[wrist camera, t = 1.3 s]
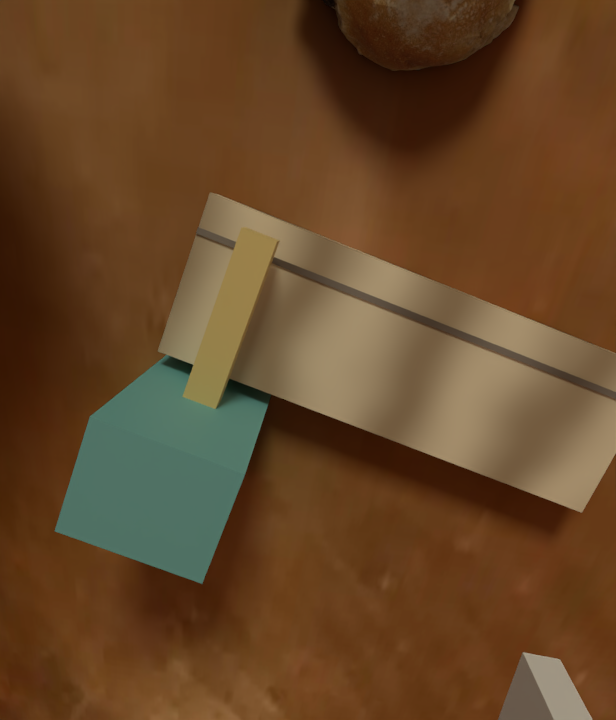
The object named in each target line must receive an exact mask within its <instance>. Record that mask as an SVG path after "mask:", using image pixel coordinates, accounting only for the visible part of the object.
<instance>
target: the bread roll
mask: <svg viewBox="0 0 616 720" xmlns="http://www.w3.org/2000/svg"><path fill="white" fill-rule="evenodd" d="M322 1H323V2H324V3H325V4H326V5H327V6H329V7H331V8H333V9H335V11H336V14H337V18H338V26H339V28H340V29H341V32H343V34H344V35H345V37H346V39H348V40H349V41H350V42H351V43H352V44H353V45H354V46H355V47H356V48H357V51H358V53H359V55H364V56H365V57H366V58H368V59H369V60H371V61H373V62H375V63H376V64H378V65H380V66H382V67H385V68H388V69H390V70H392V71H398V70H405V71H407V70H418V71H419V70H420V69H422V68H427V67H432V66H443V65H449V64H453V63H456V62H459V61H462V60H465V59H466V58H468V57H469V56H470V55H472V54H473V53H475V52H476V51H478V50H479V49H481V48H482V47H484V46H486V45H488V44H490V43H492V40H493V39H495V38H496V37H498V36H499V35H500V34H501V32H502V31H504V30H505V29H506V28H508V27H509V26H510V24H511V23H512V22H513V20H514V18H515V16H516V13H517V11H518V9H519V6H517V5H515V4H514V1H515V0H322Z"/></svg>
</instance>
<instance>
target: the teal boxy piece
mask: <svg viewBox="0 0 616 720" xmlns="http://www.w3.org/2000/svg"><path fill="white" fill-rule="evenodd" d="M279 242H280V240H277V239H275V238H272V237H270V236H267V235H264V234H262V233H259V232H257V231H254V230H252V229H249V228H247V227H241V230H240V233H239V236H238V238H237V241H236V244H235V247H234V250H233V253H232V256H231V259H230V261H229V264H228V267H227V270H226V273H225V276H224V279H223V282H222V284H221V287H220V290H219V293H218V296H217V299H216V302H215V305H214V307H213V310H212V313H211V316H210V319H209V322H208V325H207V327H206V330H205V333H204V336H203V339H202V342H201V345H200V348H199V350H198V353H197V356H196V359H195V362H194V365H193V364H190V363H187V362H185V361H182V360H179V359H177V358H174V357H172V356H169V355H166V356H165V357H163V358H162V359H161V360H160V361H158V362H157V363H156V364H155V365H153V366H152V367H151V368H150V369H148V370H147V371H146V372H145V373H144V374H142V375H141V376H140V377H139V378H137V379H136V380H135V381H134V382H132V383H131V384H130V385H129V386H127V387H126V388H125V389H124V390H122V391H121V392H120V393H119V394H117V395H116V396H115V397H114V398H112V399H111V400H110V401H109V402H107V403H106V404H105V405H104V406H102V407H101V408H100V409H99V410H98V411H96V412H95V413H94V414H93V415H91V416H90V418H89V421H88V424H87V428H86V431H85V434H84V437H83V441H82V444H81V447H80V450H79V454H78V457H77V460H76V463H75V467H74V470H73V473H72V476H71V480H70V483H69V486H68V489H67V493H66V496H65V499H64V502H63V506H62V509H61V512H60V516H59V519H58V522H57V525H56V529H55V532H58V533H61V534H64V535H67V536H69V537H72V538H75V539H78V540H81V541H83V542H86V543H89V544H92V545H95V546H97V547H100V548H103V549H106V550H109V551H111V552H114V553H117V554H120V555H123V556H125V557H128V558H131V559H134V560H137V561H139V562H142V563H145V564H148V565H151V566H153V567H156V568H159V569H162V570H165V571H167V572H170V573H173V574H176V575H179V576H181V577H184V578H187V579H190V580H193V581H195V582H198V583H201V584H202V583H203V580H204V578H205V575H206V573H207V570H208V568H209V565H210V562H211V560H212V557H213V555H214V552H215V550H216V547H217V545H218V542H219V540H220V537H221V534H222V532H223V529H224V527H225V524H226V522H227V519H228V517H229V514H230V512H231V509H232V506H233V504H234V501H235V499H236V496H237V494H238V491H239V489H240V486H241V484H242V481H243V478H244V476H245V473H246V470H247V467H248V464H249V461H250V458H251V455H252V452H253V449H254V446H255V443H256V440H257V437H258V434H259V431H260V428H261V425H262V422H263V419H264V416H265V413H266V409H267V406H268V403H269V400H270V397H271V394H269V393H266V392H264V391H261V390H258V389H256V388H253V387H250V386H248V385H245V384H243V383H240V382H237V381H235V380H232V379H229V378H230V375H231V372H232V369H233V367H234V364H235V361H236V359H237V356H238V353H239V350H240V348H241V345H242V342H243V340H244V337H245V334H246V331H247V329H248V326H249V323H250V321H251V318H252V315H253V312H254V310H255V307H256V304H257V301H258V299H259V296H260V293H261V291H262V288H263V285H264V282H265V280H266V277H267V274H268V272H269V269H270V266H271V263H272V261H273V258H274V255H275V252H276V250H277V247H278V244H279Z"/></svg>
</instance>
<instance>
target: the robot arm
mask: <svg viewBox="0 0 616 720" xmlns="http://www.w3.org/2000/svg"><path fill="white" fill-rule="evenodd" d="M498 720H592V718H591V716H590V714H589V712H588V711H587V709H586V707H585V705H584V703H583V701H582V699H581V698H580V696H579V694H578V692H577V690H576V688H575V687H574V685H573V683H572V681H571V679H570V677H569V675H568V674H567V672H566V670H565V668H564V666H563V664H562V662H561V661H560V659H555V658H550V657H545V656H539V655H534V654H529V653H522V656H521V659H520V661H519V664H518V667H517V669H516V672H515V675H514V678H513V680H512V683H511V686H510V689H509V691H508V694H507V697H506V699H505V702H504V705H503V708H502V710H501V713H500V716H499V719H498Z"/></svg>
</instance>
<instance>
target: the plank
mask: <svg viewBox="0 0 616 720" xmlns="http://www.w3.org/2000/svg"><path fill="white" fill-rule="evenodd" d="M241 227H247V228H249V229H252V230H254V231H257V232H259V233H262V234H264V235H267V236H270V237H272V238H275V239H277V240H280V242H279V244H278V247H277V250H276V252H275V255H274V258H273V261H272V263H271V266H270V269H269V272H268V274H267V277H266V280H265V282H264V285H263V288H262V291H261V293H260V296H259V299H258V301H257V304H256V307H255V310H254V312H253V315H252V318H251V321H250V323H249V326H248V329H247V331H246V334H245V337H244V340H243V342H242V345H241V348H240V350H239V353H238V356H237V359H236V361H235V364H234V367H233V369H232V372H231V375H230V378H229V379H232V380H235V381H237V382H240V383H243V384H245V385H248V386H250V387H253V388H256V389H258V390H261V391H264V392H266V393H269V394H271V395H274V396H277V397H279V398H282V399H285V400H287V401H290V402H292V403H295V404H298V405H300V406H303V407H306V408H308V409H311V410H313V411H316V412H319V413H321V414H324V415H327V416H329V417H332V418H334V419H337V420H340V421H342V422H345V423H348V424H350V425H353V426H355V427H358V428H361V429H363V430H366V431H369V432H371V433H374V434H376V435H379V436H382V437H384V438H387V439H390V440H392V441H395V442H397V443H400V444H403V445H405V446H408V447H411V448H413V449H416V450H418V451H421V452H424V453H426V454H429V455H432V456H434V457H437V458H440V459H442V460H445V461H447V462H450V463H453V464H455V465H458V466H461V467H463V468H466V469H468V470H471V471H474V472H476V473H479V474H482V475H484V476H487V477H489V478H492V479H495V480H497V481H500V482H503V483H505V484H508V485H510V486H513V487H516V488H518V489H521V490H524V491H526V492H529V493H531V494H534V495H537V496H539V497H542V498H545V499H547V500H550V501H552V502H555V503H558V504H560V505H563V506H566V507H568V508H571V509H573V510H576V511H579V512H581V513H582V511H583V510H584V508H585V506H586V504H587V503H588V501H589V499H590V497H591V496H592V494H593V492H594V490H595V489H596V487H597V485H598V483H599V482H600V480H601V478H602V476H603V475H604V473H605V471H606V469H607V468H608V466H609V464H610V462H611V461H612V459H613V457H614V455H615V454H616V353H613V352H611V351H608V350H606V349H603V348H601V347H598V346H596V345H593V344H591V343H588V342H586V341H583V340H581V339H578V338H576V337H573V336H571V335H568V334H566V333H563V332H561V331H558V330H556V329H553V328H551V327H548V326H546V325H543V324H541V323H538V322H536V321H533V320H531V319H528V318H526V317H523V316H521V315H518V314H516V313H513V312H511V311H508V310H506V309H503V308H501V307H498V306H496V305H493V304H491V303H488V302H486V301H483V300H481V299H478V298H476V297H473V296H471V295H468V294H466V293H463V292H461V291H458V290H456V289H453V288H451V287H448V286H446V285H443V284H441V283H438V282H436V281H433V280H431V279H428V278H426V277H423V276H421V275H418V274H416V273H413V272H411V271H408V270H406V269H403V268H401V267H398V266H396V265H393V264H391V263H388V262H386V261H383V260H381V259H378V258H376V257H373V256H371V255H368V254H366V253H363V252H361V251H358V250H356V249H353V248H351V247H348V246H346V245H343V244H341V243H338V242H336V241H333V240H331V239H328V238H326V237H323V236H321V235H318V234H316V233H313V232H311V231H308V230H306V229H303V228H301V227H298V226H296V225H293V224H291V223H288V222H286V221H283V220H281V219H278V218H276V217H273V216H271V215H268V214H266V213H263V212H261V211H258V210H256V209H253V208H251V207H248V206H246V205H243V204H241V203H238V202H236V201H233V200H231V199H228V198H226V197H223V196H221V195H217V194H214V193H210V194H209V197H208V200H207V203H206V206H205V209H204V212H203V215H202V218H201V222H200V225H199V227H198V229H197V232H196V233H197V234H196V237H195V240H194V243H193V246H192V249H191V252H190V255H189V258H188V261H187V264H186V267H185V270H184V273H183V276H182V279H181V282H180V285H179V288H178V291H177V294H176V297H175V300H174V304H173V307H172V310H171V313H170V316H169V319H168V322H167V325H166V328H165V331H164V334H163V337H162V340H161V343H160V346H159V349H158V352H161V353H164V354H166V355H169V356H172V357H174V358H177V359H179V360H182V361H185V362H187V363H190V364H193V365H194V362H195V359H196V356H197V353H198V350H199V348H200V345H201V342H202V339H203V336H204V333H205V330H206V327H207V325H208V322H209V319H210V316H211V313H212V310H213V307H214V305H215V302H216V299H217V296H218V293H219V290H220V287H221V284H222V282H223V279H224V276H225V273H226V270H227V267H228V264H229V261H230V259H231V256H232V253H233V250H234V247H235V244H236V241H237V238H238V236H239V233H240V230H241Z"/></svg>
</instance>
